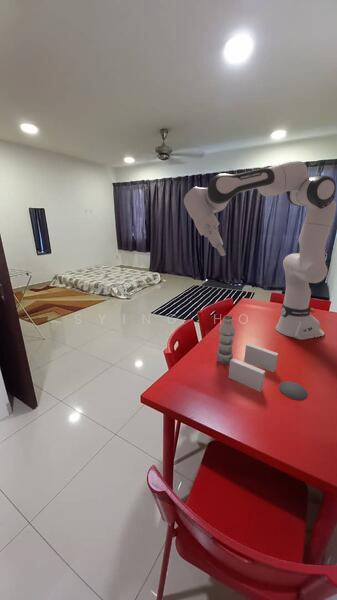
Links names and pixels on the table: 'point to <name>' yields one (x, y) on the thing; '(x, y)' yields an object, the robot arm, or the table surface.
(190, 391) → the table surface
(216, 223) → the robot arm
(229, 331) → the plastic bottle
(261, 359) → the guide channel
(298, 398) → the mat
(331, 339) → the table surface
